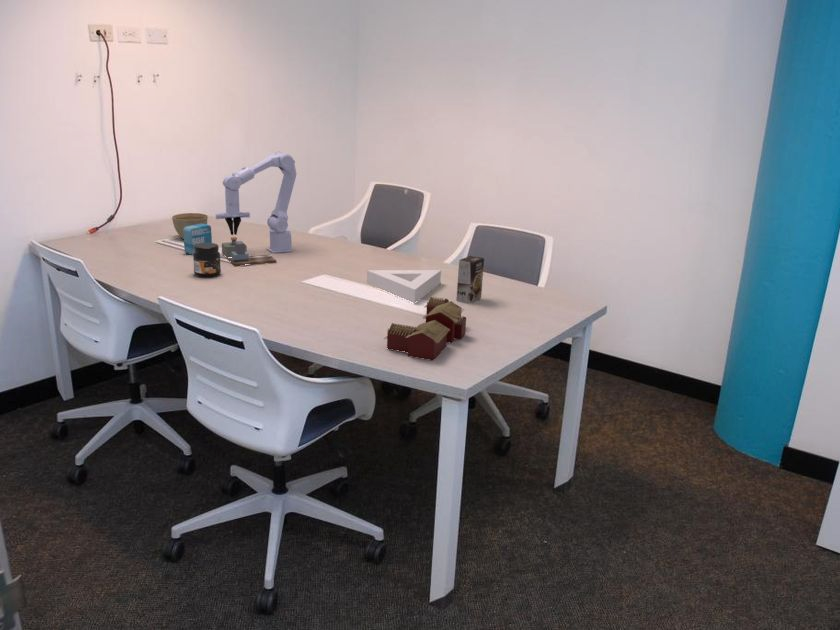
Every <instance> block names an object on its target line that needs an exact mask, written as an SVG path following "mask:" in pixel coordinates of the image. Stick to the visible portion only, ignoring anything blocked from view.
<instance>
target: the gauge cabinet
mask: <svg viewBox="0 0 840 630" xmlns="http://www.w3.org/2000/svg"><path fill="white" fill-rule="evenodd" d="M247 248H248V247H247V244H245V251H246V252H247V251H248V249H247ZM231 252H235V245H232V241H230V242H229V241H227V242H221V254H222V253H223V254H224V255H225V256H226V257H232V256H231ZM247 253H248V252H247ZM223 254H222V255H223ZM224 255H223V256H224ZM225 256H224V257H225ZM226 257H225V258H226Z"/></svg>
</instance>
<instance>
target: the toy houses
mask: <svg viewBox="0 0 840 630" xmlns="http://www.w3.org/2000/svg"><path fill="white" fill-rule="evenodd" d="M423 308H426V313H425V315H424V316H423V317H422V318H423V319H425V322H423V323H420V324H418V325H417V326H411V325H407V324H406V325H405V324H400V323H393V322H392V323H390V326H389V327H388V329H387V335H386V336H385V337H384V338H383V340H386V349H387V348H388V349H393V350H392V351H394V350H399V351H398V352H400V351H405V352H404V353H406V352H408V353H407V357H409V356H412V357H411V358H415V357H418V358H417V359H421V358H424V359H423V360H426V359H430V360H429V361H432V360H434V359H435V360H436V359H437V357H439V355H440V354H441V353H442V352H441V351H443V350H445V348H447V342H450V343H449V344H453V342H454V341H455V340H460V339H461V340H463V338H464V337H465V336H464V335H466V326H467V325H466V324H467V317H466V316H462V313H463V312H464V308H462V307H461V306H460V305H458V304H456V303H454V302H453V301H450V300H449V299H448V298H444V297H436V296H430V298H429V300H428V301H427V302H426V304H425V306H423ZM454 338H455V339H454ZM388 349H387V350H388ZM435 360H434V361H435Z"/></svg>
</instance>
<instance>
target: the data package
mask: <svg viewBox="0 0 840 630" xmlns="http://www.w3.org/2000/svg"><path fill="white" fill-rule="evenodd" d="M183 234H184V240H183V247H184V248H183V249H184V253H186V254H188V255H192V256H193V253H194V252H195V251H194V245H196V244H199V243H213V241H212V238H213V237H212V226H211V225H209V224H207V225H206V224H197V225H192V226H187V227H185V228H184V229H183Z"/></svg>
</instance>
